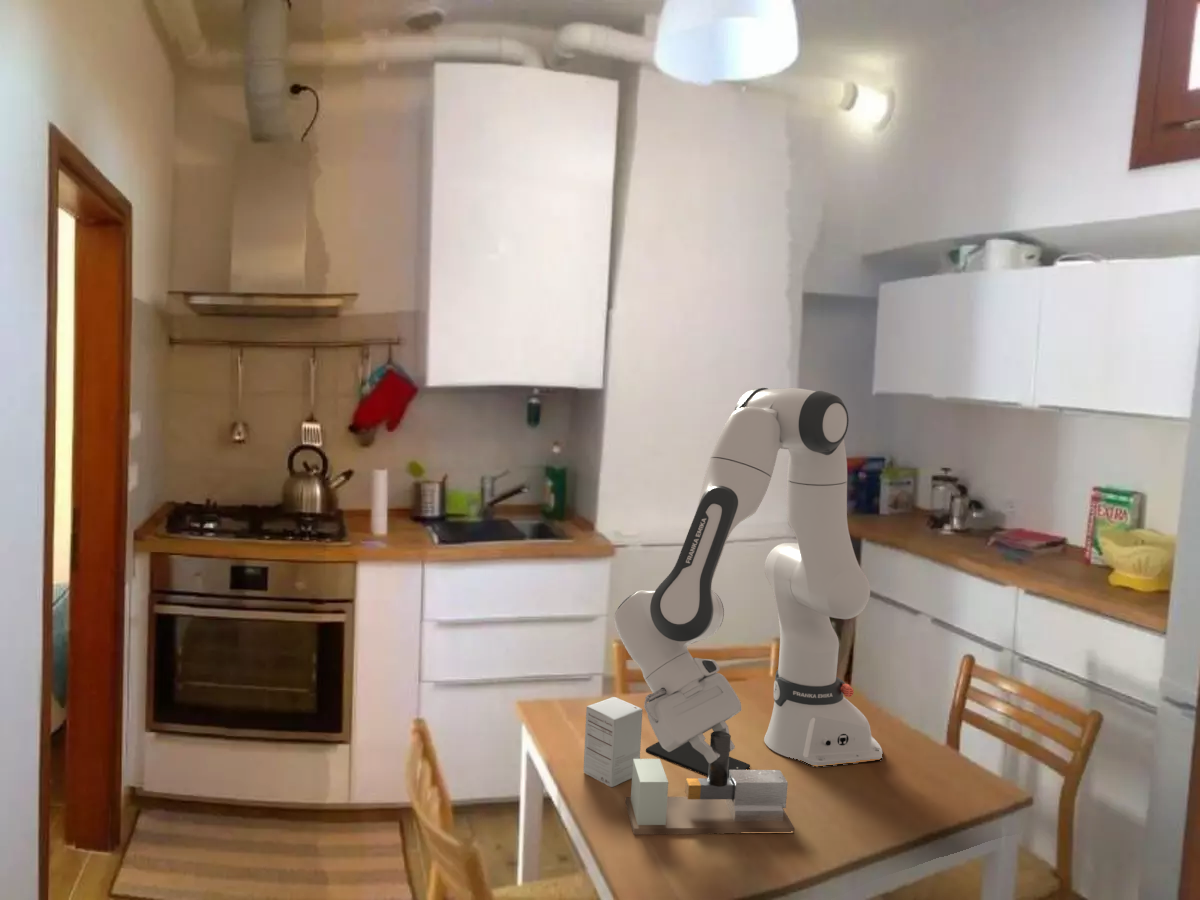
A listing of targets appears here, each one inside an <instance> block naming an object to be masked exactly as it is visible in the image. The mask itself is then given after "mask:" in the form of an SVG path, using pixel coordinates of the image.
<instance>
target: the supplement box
mask: <svg viewBox="0 0 1200 900" xmlns="http://www.w3.org/2000/svg"><path fill="white" fill-rule="evenodd" d="M585 711H586V712H585V733H584V734H585V735H584V752H583V753H584V754H583V773H584V774H585V775H587V776H589V777H591V778H593V779H595V780H597V781H599V782H601V783H602V784H604V785H607V786H608V787H610V788H613V787H616V786H618V785H619V784H620V785H621V784H622V783H624V782H626V781H629V780H632V770H633V759H641V747H642V746H641V745H642V744H641V743H642V742H641V741H642V727H643V725H642V724H643V709H642V708H641V707H639V706H637V705H634V704H632V703H630V702H627V701H625V700H623V699H620V698H619V697H615V696H611V697H609V698H606V699H604V700H601V701H598V702H594V703H592V704H589V705H586V710H585Z"/></svg>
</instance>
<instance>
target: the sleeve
mask: <svg viewBox="0 0 1200 900" xmlns="http://www.w3.org/2000/svg"><path fill="white" fill-rule="evenodd" d="M729 778H732V780H733V782H734V783H735V790H734V799H726V804H727V806H728V808H729V811H730V813H731V815H732V817H733V819H734V821H783V812H784V811H785V810H784V811H783V809H786V808H787V798H788V797H787V796H788V785H789V782H788V781H787V779H786V777H785V776H784V775H783V772H782V771H781V770H780V769H748V770H729ZM782 808H783V809H782Z"/></svg>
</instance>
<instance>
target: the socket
mask: <svg viewBox="0 0 1200 900" xmlns="http://www.w3.org/2000/svg"><path fill="white" fill-rule="evenodd" d="M630 788H631V789H630V790H631V791H630V797H631V803H632V806H633V810H634V814H635V817H636V821H637V825H666V810H667V797H668V791H669V780H668V778H667V774H666V772H665V770H664V766H663V764H662V761H661V759H660V758H640V759H633V770H632V778H631V787H630Z"/></svg>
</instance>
